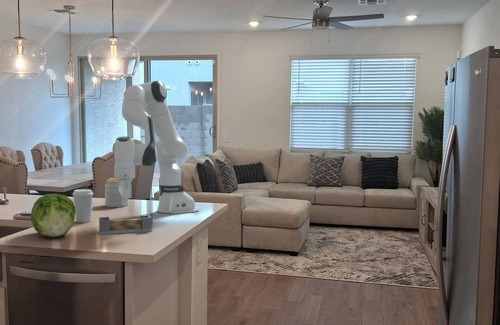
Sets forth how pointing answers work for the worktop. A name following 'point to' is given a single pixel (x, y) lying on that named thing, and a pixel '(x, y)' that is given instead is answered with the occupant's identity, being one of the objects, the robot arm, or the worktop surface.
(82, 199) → the coffee cup
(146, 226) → the grey cradle
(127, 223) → the slat
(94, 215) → the worktop surface
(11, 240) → the worktop surface
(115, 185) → the jar
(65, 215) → the lettuce
